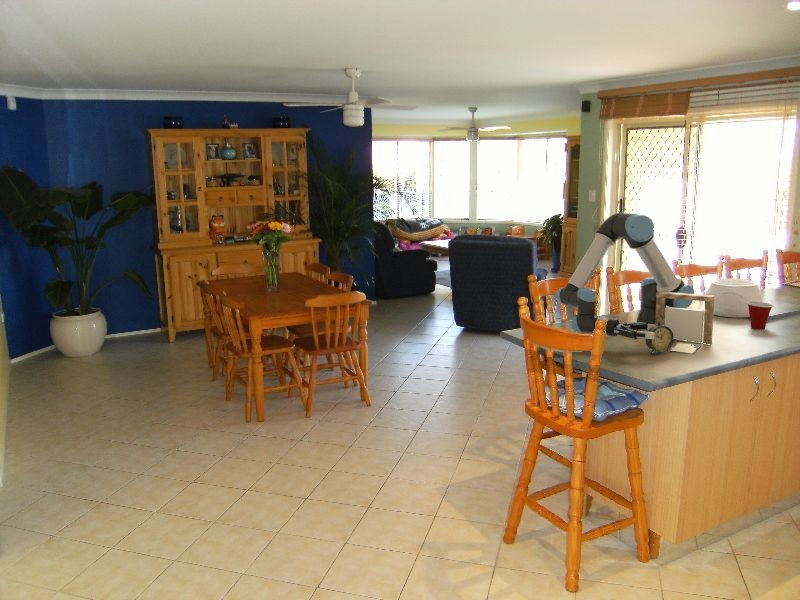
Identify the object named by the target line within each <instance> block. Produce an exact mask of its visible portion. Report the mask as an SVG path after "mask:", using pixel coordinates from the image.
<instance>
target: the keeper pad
mask: <svg viewBox="0 0 800 600" xmlns="http://www.w3.org/2000/svg"><path fill="white" fill-rule="evenodd" d="M689 343H690V344H691V346H692V344H693V345H694V346H695V347H694V348H696V349H697V348H698V347H699V346H700V345H701V346H702V344H701V343H694V342H692V343H691V342H689Z"/></svg>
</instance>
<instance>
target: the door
mask: <svg viewBox="0 0 800 600" xmlns="http://www.w3.org/2000/svg"><path fill="white" fill-rule="evenodd" d="M704 312H705V309H696V308H695V309H694V308H693V309H692V308H686V309H685V308H674V307H666V308H665V326H667V327H669V328H670V329H671V330H672V332H673V336H674V339H678V340H677V341H681V340H687V341H686V342H690V341H694V342H693V343H699V342H700V343H699V344H701V343H703V331H704Z"/></svg>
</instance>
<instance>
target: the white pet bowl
mask: <svg viewBox="0 0 800 600" xmlns="http://www.w3.org/2000/svg"><path fill="white" fill-rule="evenodd" d="M709 282H710V285H709V286H708V288H707V289H706V292H705V295H714V296H715V299H714V313H713V316H714V315H715V316H718V317H724V318H735V319H737V318H738V319H741V318H750V316H749V307H748V304H747V302H750V301H754V302H764V301H763V300H764V299H763V293H762V291H761V290H760V288H759V285H760V282H759V281H755V280H752V279H751V280H750V279H745V278H744V279H742V278H716V279H711V280H710V281H709Z"/></svg>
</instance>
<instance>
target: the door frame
mask: <svg viewBox="0 0 800 600" xmlns="http://www.w3.org/2000/svg"><path fill="white" fill-rule="evenodd" d="M656 297H657V298H656V317H657V316H658V315H661V316H662V317H663V320H662V317H661V316H658V317H657V322H660V325H664V320H665V298H670V299H683V300H693V301H698V302H704V317H703V336H702V344H703V343H706V344H711V343H712V342H713V332H714V331H713V326H714V314H713V313H714V299H715V296H714V295H706V294H701V293H699V294H698V293H694V294H687V293H674V292H660V291H659V292H657V293H656ZM661 321H662V322H661ZM657 322H656V325H658V323H657ZM712 344H713V343H712ZM712 344H711V345H712Z"/></svg>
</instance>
